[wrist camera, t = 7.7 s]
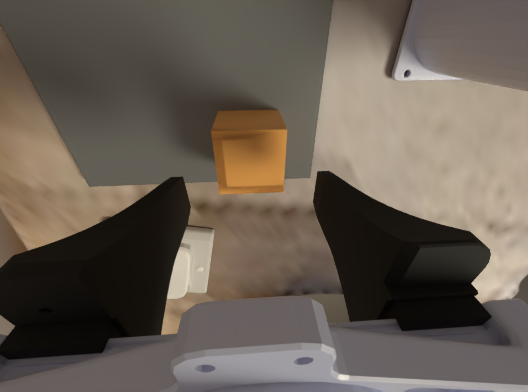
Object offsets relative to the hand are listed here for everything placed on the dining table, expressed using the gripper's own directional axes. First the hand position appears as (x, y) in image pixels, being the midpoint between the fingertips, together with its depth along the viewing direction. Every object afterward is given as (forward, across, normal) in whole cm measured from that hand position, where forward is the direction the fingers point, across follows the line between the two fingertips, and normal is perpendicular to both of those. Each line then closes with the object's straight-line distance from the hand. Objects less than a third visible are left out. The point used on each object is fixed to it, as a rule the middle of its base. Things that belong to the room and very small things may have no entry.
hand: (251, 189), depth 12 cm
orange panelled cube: (+8, 0, 0) cm, 8 cm away
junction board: (+9, +5, -4) cm, 11 cm away
